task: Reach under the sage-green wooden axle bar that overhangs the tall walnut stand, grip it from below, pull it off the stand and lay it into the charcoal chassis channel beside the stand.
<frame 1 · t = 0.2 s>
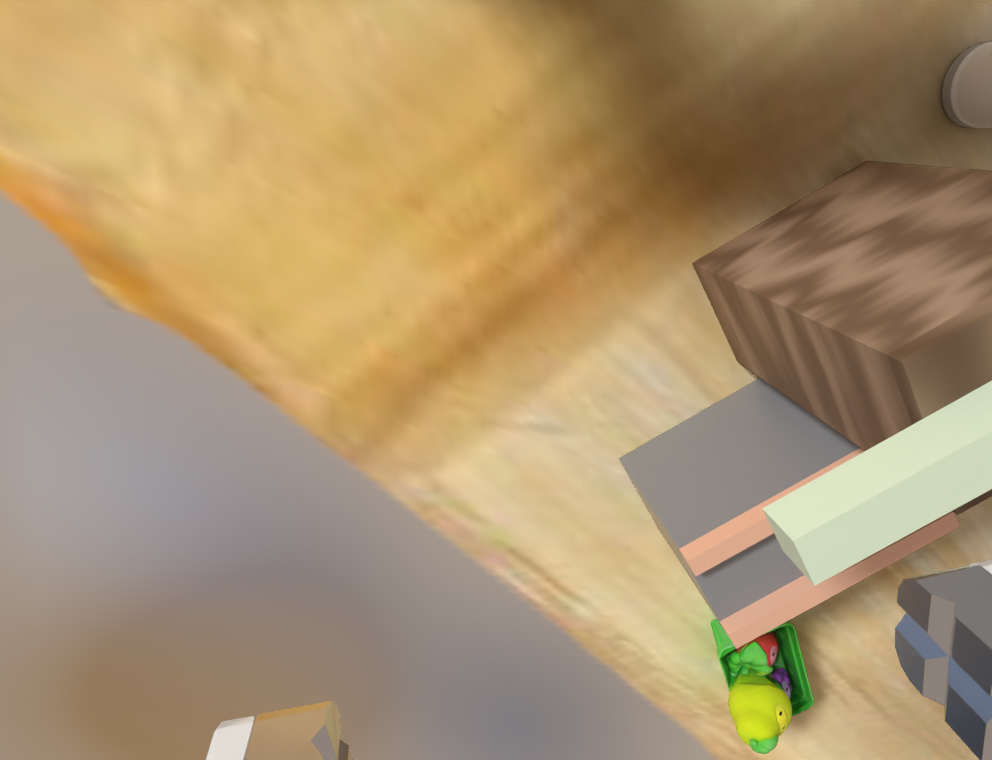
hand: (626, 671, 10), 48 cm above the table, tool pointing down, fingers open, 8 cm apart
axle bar: (985, 412, 36), point 26 cm above the table, touching walnut stand
walnut stand: (799, 265, 60), on the table
travel mug: (973, 85, 57), on the table
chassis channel: (727, 446, 65), on the table
fruit basket: (737, 644, 73), on the table
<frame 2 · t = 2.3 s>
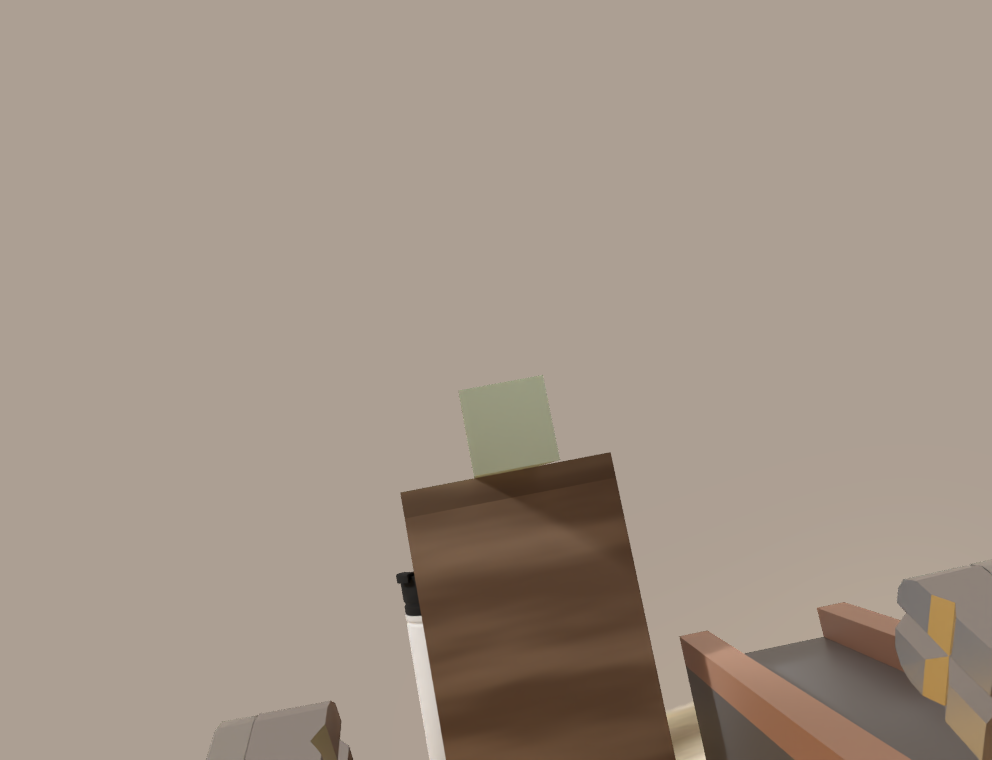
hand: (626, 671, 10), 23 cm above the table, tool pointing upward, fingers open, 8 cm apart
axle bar: (503, 473, 36), point 26 cm above the table, touching walnut stand
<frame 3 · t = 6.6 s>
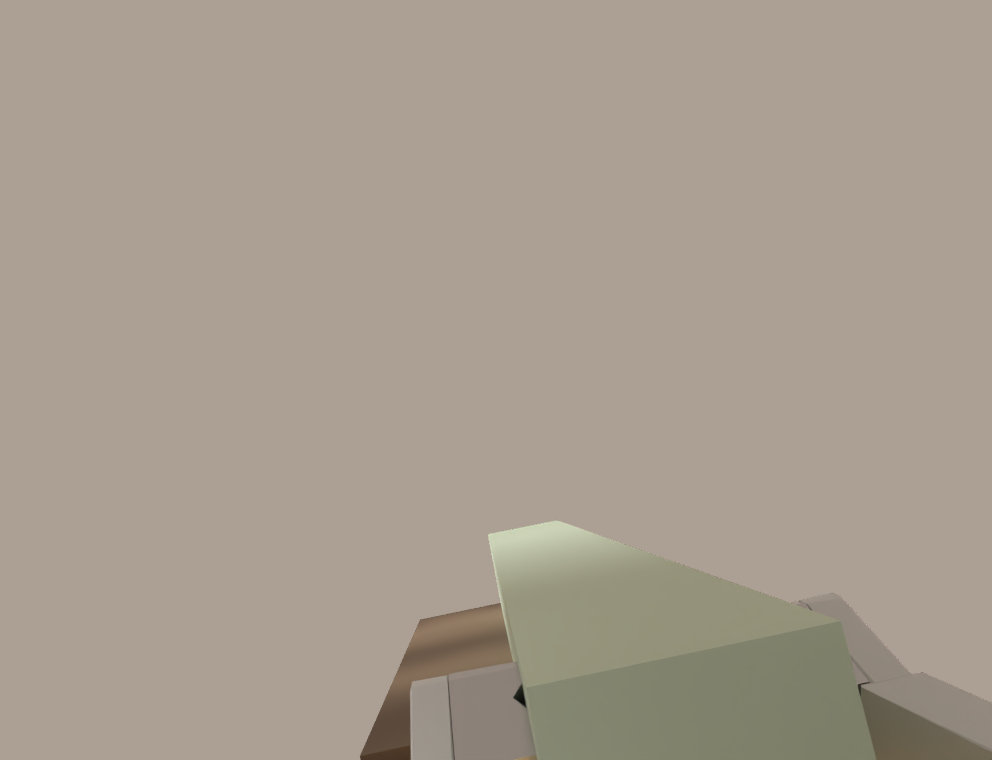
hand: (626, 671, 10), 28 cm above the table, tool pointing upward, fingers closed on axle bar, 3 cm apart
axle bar: (575, 669, 18), point 26 cm above the table, touching gripper, walnut stand
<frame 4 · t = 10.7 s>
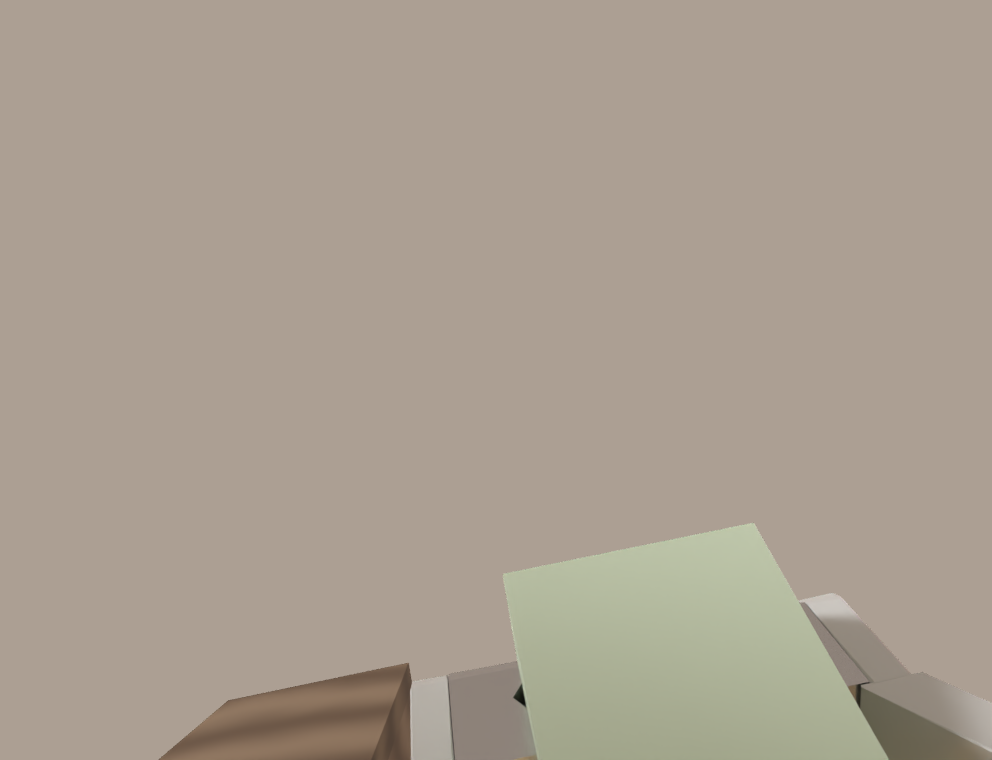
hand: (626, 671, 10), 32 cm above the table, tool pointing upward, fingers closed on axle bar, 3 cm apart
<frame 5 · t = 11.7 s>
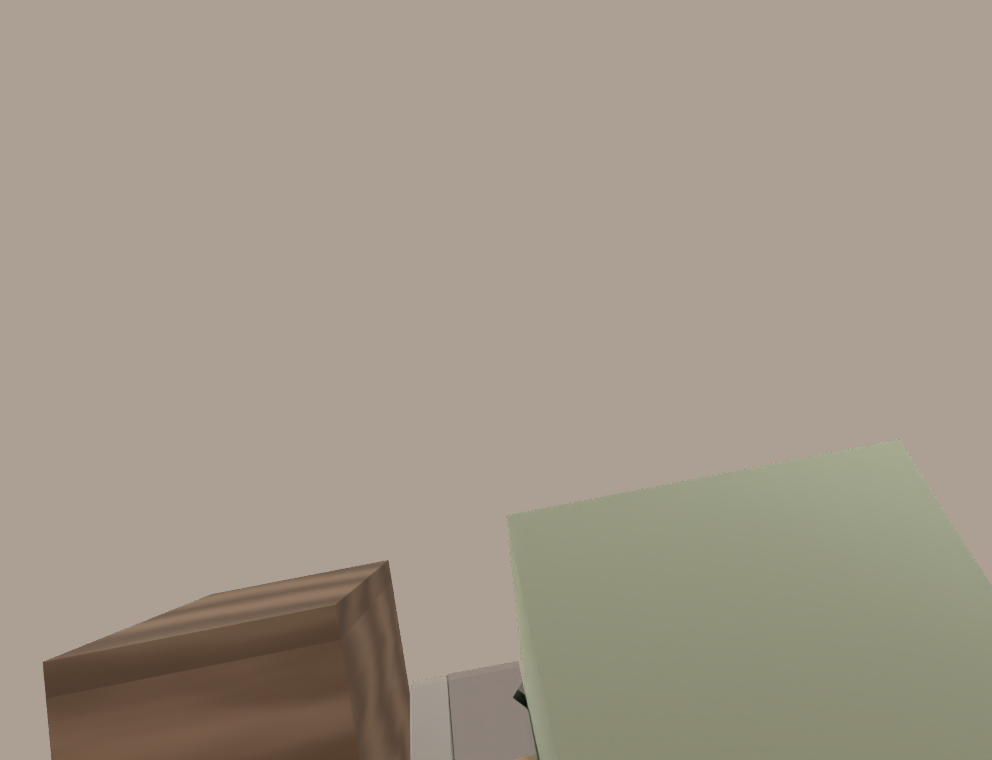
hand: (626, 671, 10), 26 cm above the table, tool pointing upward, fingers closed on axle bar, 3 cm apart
when the fingers open (20 cm above the table, at t = 13.0 s): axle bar drops 2 cm, resting on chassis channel.
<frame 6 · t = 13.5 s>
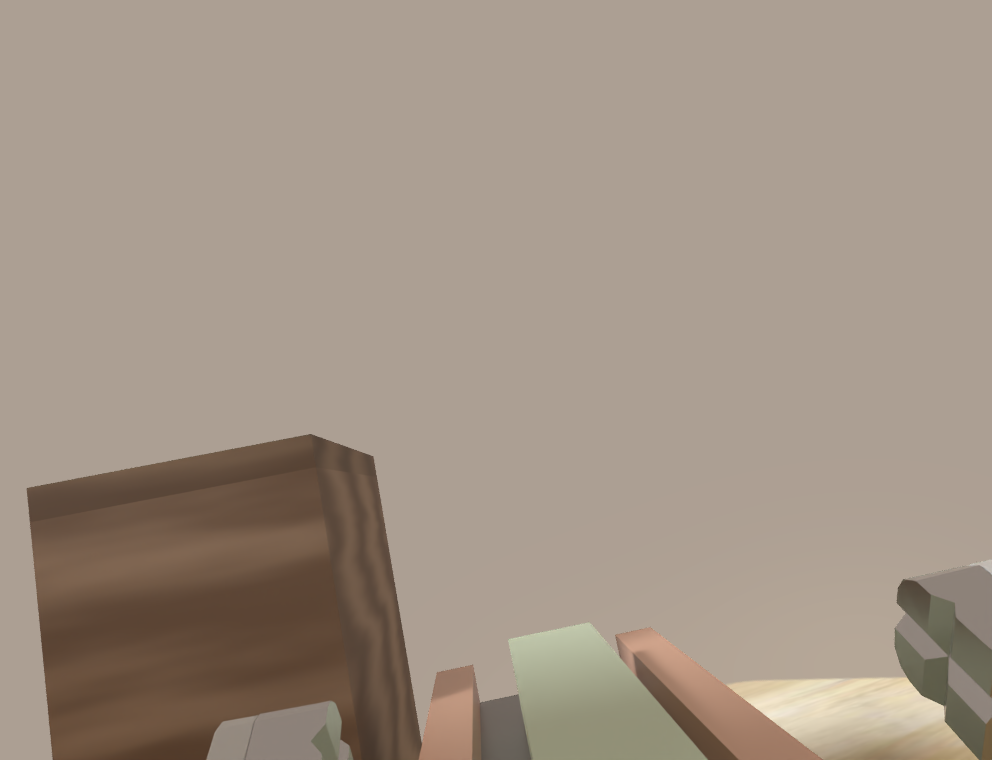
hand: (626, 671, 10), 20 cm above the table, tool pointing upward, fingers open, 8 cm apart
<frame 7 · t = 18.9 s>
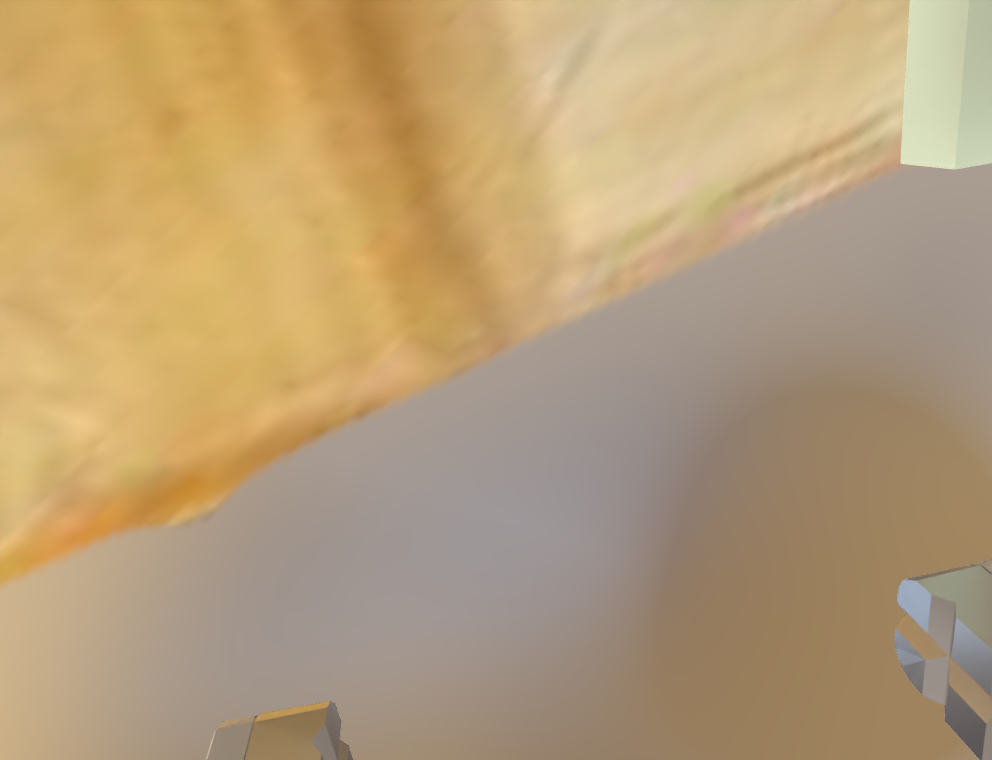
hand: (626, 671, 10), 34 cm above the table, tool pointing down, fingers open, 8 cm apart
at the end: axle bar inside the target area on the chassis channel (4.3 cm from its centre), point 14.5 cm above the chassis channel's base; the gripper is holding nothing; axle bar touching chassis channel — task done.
